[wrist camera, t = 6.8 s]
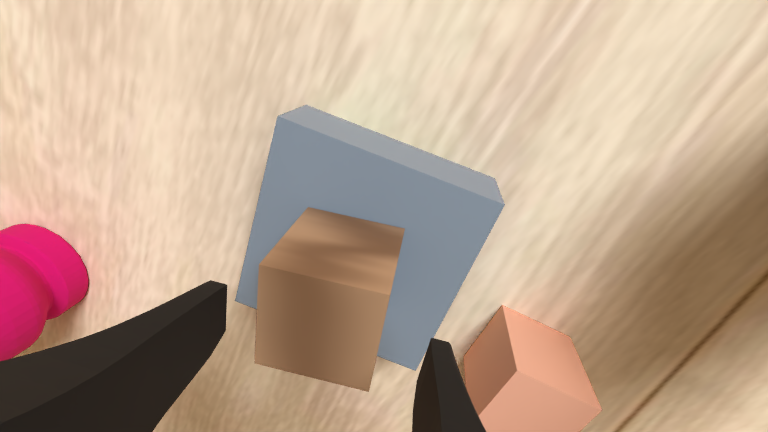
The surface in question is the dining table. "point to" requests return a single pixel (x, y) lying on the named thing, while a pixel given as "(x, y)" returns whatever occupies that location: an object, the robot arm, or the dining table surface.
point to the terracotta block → (527, 378)
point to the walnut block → (326, 297)
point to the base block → (377, 215)
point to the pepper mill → (35, 284)
